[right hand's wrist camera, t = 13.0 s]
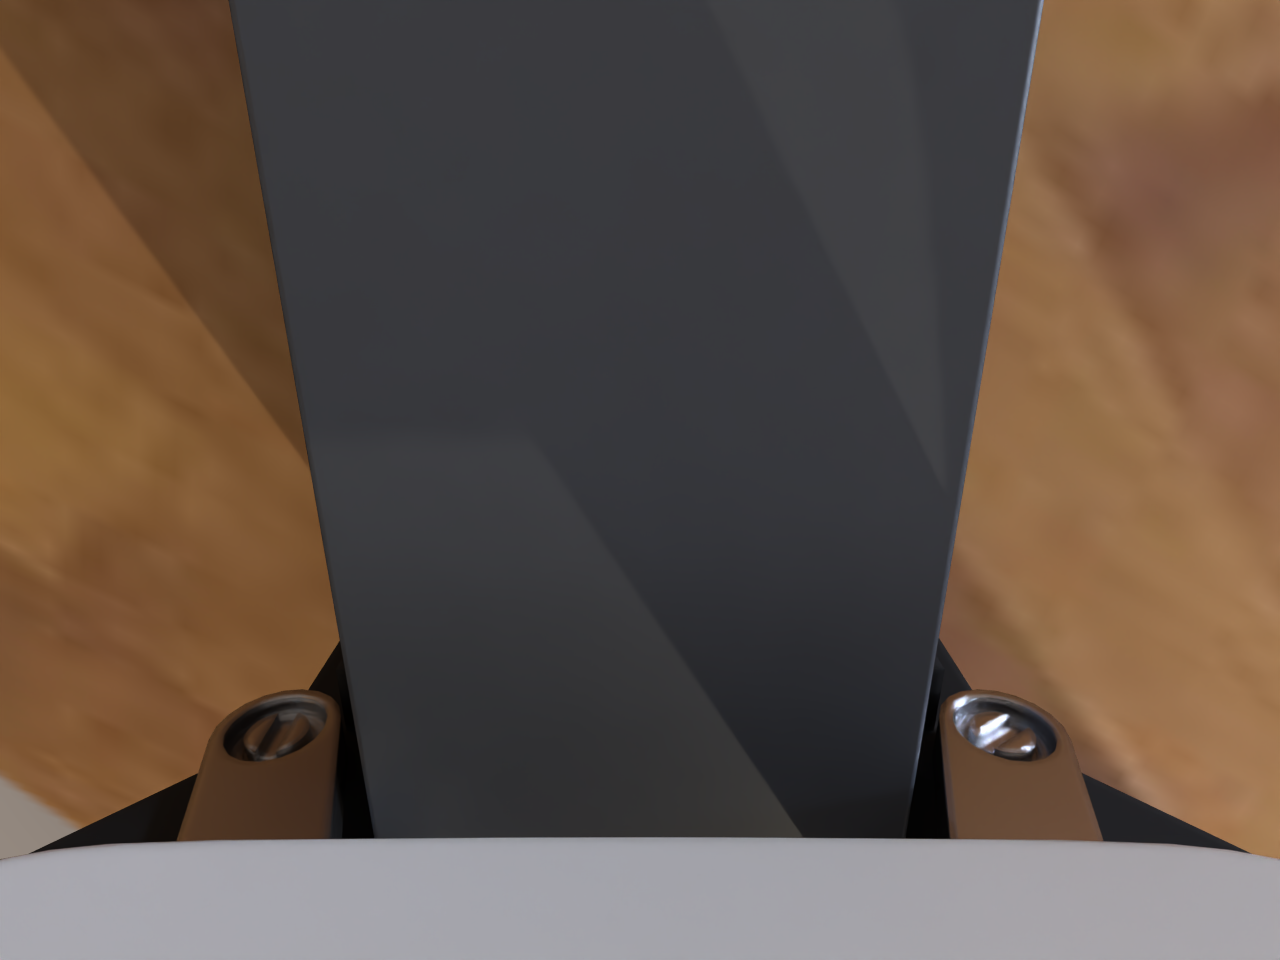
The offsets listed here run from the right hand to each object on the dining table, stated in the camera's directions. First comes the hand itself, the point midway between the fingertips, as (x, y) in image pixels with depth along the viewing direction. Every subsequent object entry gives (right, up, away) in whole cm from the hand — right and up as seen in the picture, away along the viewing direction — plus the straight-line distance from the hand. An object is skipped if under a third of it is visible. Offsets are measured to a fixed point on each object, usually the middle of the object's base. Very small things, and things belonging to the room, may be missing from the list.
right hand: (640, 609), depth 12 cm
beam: (0, +32, -9) cm, 33 cm away
